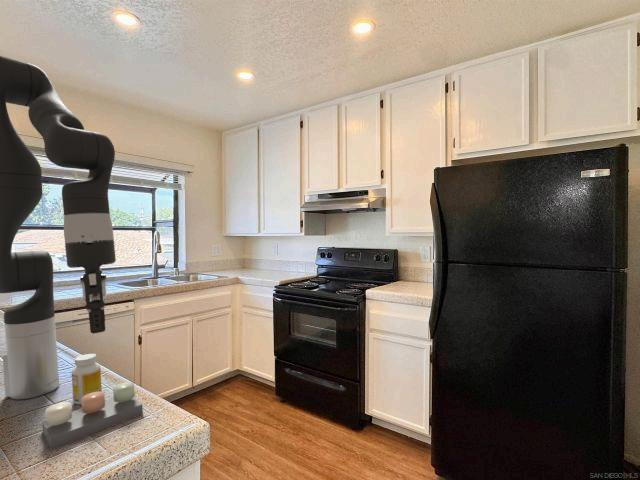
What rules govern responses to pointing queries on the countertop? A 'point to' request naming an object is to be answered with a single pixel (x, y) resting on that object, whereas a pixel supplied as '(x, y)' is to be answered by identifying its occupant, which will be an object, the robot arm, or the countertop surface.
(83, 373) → the supplement bottle
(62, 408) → the cream button
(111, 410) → the button panel
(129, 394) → the sage button
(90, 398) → the terracotta button
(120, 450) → the countertop surface
